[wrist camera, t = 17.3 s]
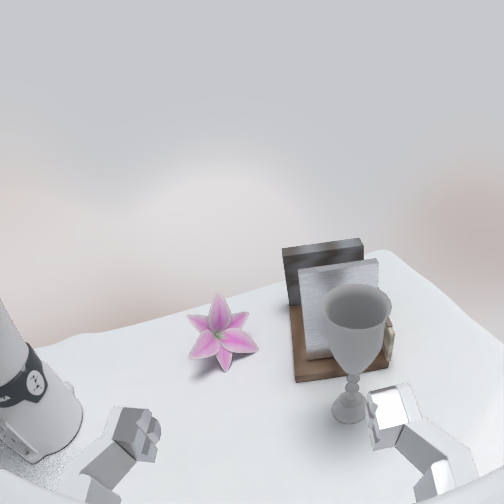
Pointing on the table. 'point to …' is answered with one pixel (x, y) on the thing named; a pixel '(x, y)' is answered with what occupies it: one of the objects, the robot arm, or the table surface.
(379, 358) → the wooden book stand
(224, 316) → the lily
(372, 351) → the chalice
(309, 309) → the grey metal angled plate
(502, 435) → the table surface
